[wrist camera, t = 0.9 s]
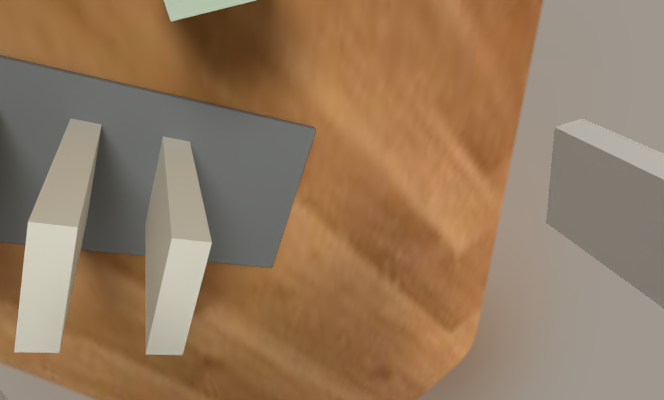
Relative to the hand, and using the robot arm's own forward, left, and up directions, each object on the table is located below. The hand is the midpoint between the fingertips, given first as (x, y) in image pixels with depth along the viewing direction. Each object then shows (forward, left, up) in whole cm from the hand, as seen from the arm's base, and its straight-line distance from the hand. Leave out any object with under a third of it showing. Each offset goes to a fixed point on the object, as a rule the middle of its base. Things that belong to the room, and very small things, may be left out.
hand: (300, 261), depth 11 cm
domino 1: (+4, -9, -21) cm, 23 cm away
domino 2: (+7, -4, -21) cm, 23 cm away
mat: (+4, -9, -22) cm, 24 cm away
